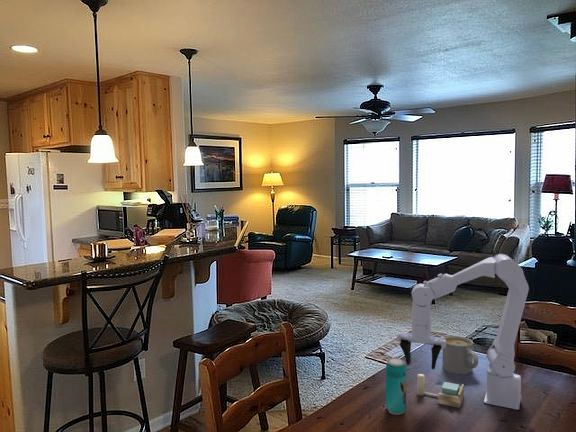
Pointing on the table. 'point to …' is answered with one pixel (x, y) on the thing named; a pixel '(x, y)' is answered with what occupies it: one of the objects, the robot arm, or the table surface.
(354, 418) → the table surface
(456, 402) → the wooden bracket
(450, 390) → the tethered block
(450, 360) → the coffee mug
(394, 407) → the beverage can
